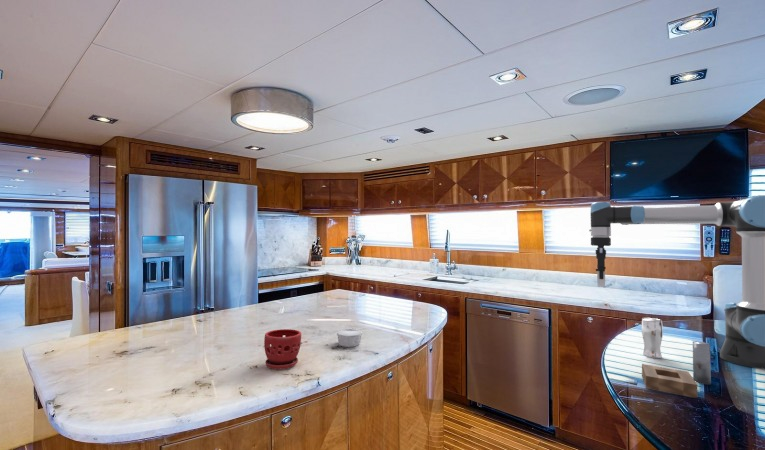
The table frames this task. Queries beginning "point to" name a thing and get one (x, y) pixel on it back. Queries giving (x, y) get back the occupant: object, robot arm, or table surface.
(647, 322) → the beer glass
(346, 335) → the ramekin
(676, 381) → the socket block
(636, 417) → the table surface
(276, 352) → the plant pot
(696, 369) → the steel peg
